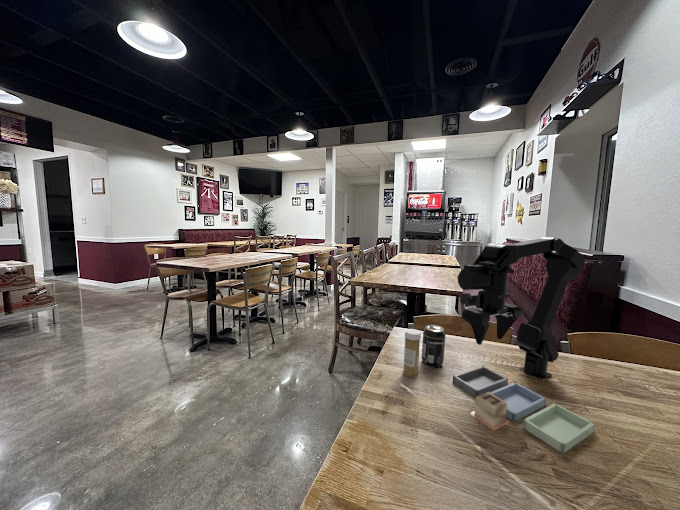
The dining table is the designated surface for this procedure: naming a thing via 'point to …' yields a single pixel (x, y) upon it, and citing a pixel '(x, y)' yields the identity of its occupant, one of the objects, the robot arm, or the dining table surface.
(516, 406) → the slate tray
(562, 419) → the green tray
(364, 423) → the dining table surface
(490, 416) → the letter cube
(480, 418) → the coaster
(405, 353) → the sprinkles bottle
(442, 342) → the beverage can
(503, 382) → the charcoal tray
